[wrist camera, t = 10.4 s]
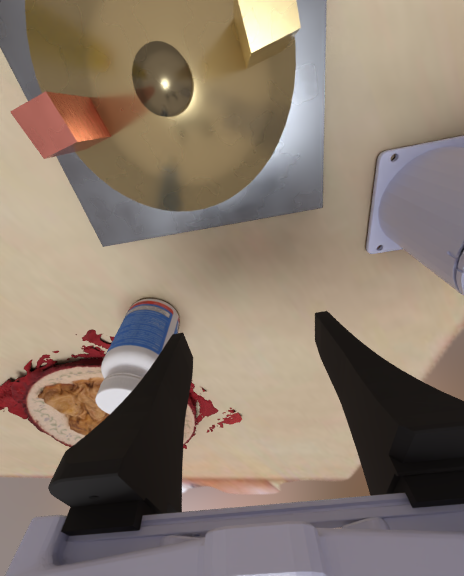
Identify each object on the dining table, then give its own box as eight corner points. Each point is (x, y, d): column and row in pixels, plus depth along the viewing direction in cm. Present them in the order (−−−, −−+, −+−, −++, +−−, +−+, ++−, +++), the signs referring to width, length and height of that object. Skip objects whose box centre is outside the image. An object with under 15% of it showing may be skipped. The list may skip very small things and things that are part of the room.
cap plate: (323, -248, 10) (332, -285, 9) (318, 203, 20) (323, 208, 19) (-66, -107, 12) (-91, -125, 11) (107, 241, 22) (102, 247, 21)
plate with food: (139, 456, 47) (134, 478, 44) (-11, 394, 35) (-33, 419, 32) (243, 409, 39) (245, 433, 36) (93, 306, 27) (77, 330, 24)
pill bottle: (118, 306, 26) (66, 391, 18) (163, 289, 25) (129, 373, 17) (148, 341, 29) (115, 428, 21) (189, 327, 28) (172, 414, 19)
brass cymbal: (311, 161, 17) (340, 177, 13) (136, 231, 20) (108, 264, 15) (243, -210, 10) (252, -492, 5) (-18, -16, 13) (-159, -91, 8)
